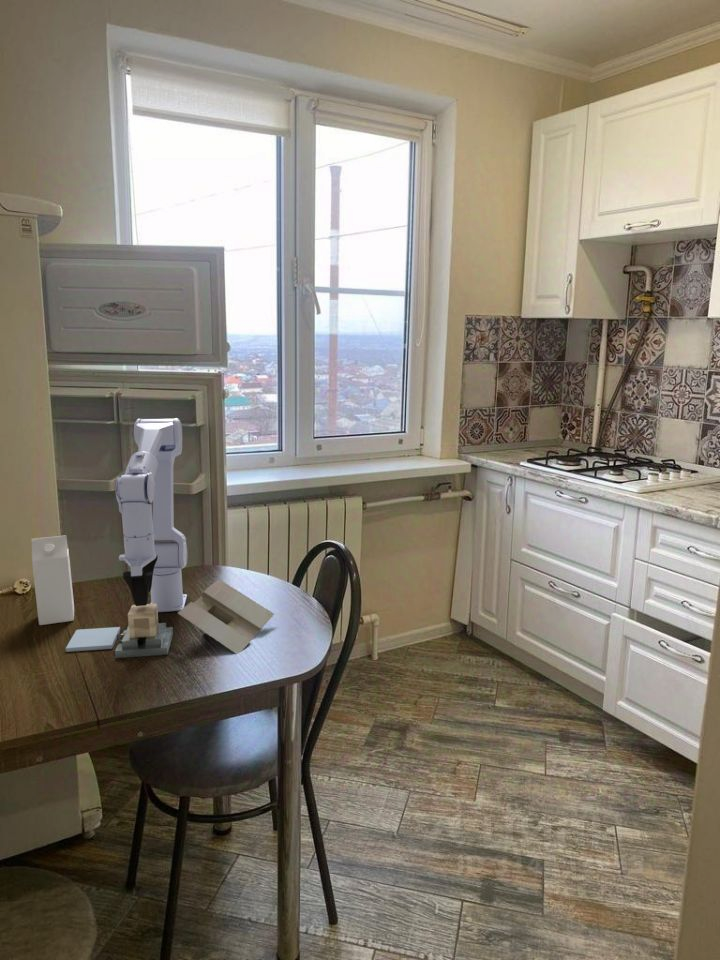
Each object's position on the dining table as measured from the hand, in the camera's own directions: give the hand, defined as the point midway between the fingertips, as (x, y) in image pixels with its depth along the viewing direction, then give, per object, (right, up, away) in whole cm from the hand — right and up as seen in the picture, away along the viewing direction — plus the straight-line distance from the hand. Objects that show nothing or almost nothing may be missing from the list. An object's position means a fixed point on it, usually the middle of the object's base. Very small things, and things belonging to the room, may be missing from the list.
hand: (143, 598), depth 142 cm
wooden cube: (0, -7, +2) cm, 7 cm away
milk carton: (-25, -7, +17) cm, 31 cm away
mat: (-12, -10, +5) cm, 16 cm away
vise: (0, -10, +2) cm, 10 cm away
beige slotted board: (+16, -9, +8) cm, 20 cm away
